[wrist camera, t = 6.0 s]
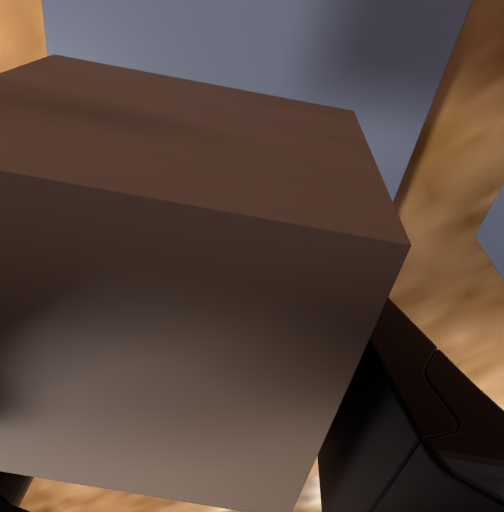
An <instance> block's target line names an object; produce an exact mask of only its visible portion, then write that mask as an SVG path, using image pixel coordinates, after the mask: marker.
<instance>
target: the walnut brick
mask: <svg viewBox="0 0 504 512" xmlns="http://www.w3.org/2000/svg"><path fill="white" fill-rule="evenodd" d="M410 247H411V244H410V241H409V239H408V237H407V234H406V232H405V230H404V227H403V225H402V223H401V220H400V218H399V216H398V213H397V211H396V209H395V206H394V204H393V202H392V199H391V197H390V195H389V192H388V190H387V188H386V185H385V183H384V180H383V178H382V176H381V173H380V171H379V169H378V166H377V164H376V162H375V159H374V157H373V155H372V152H371V150H370V148H369V145H368V143H367V141H366V138H365V136H364V134H363V131H362V129H361V127H360V124H359V122H358V120H357V117H356V115H355V113H354V111H352V110H347V109H342V108H336V107H331V106H326V105H320V104H315V103H310V102H304V101H299V100H294V99H288V98H283V97H278V96H273V95H267V94H262V93H257V92H251V91H246V90H241V89H235V88H230V87H225V86H220V85H214V84H209V83H204V82H198V81H193V80H188V79H182V78H177V77H172V76H166V75H161V74H156V73H151V72H145V71H140V70H135V69H129V68H124V67H119V66H113V65H108V64H103V63H98V62H92V61H87V60H82V59H76V58H71V57H66V56H60V55H55V54H53V55H51V56H48V57H45V58H42V59H39V60H36V61H34V62H31V63H28V64H25V65H22V66H19V67H17V68H14V69H11V70H8V71H5V72H2V73H0V471H2V472H8V473H14V474H20V475H26V476H32V477H38V478H44V479H50V480H56V481H62V482H68V483H74V484H80V485H86V486H92V487H98V488H104V489H111V490H117V491H123V492H129V493H135V494H141V495H147V496H153V497H159V498H165V499H171V500H177V501H183V502H189V503H195V504H201V505H207V506H213V507H219V508H225V509H231V510H237V511H243V512H292V511H293V509H294V507H295V504H296V502H297V500H298V498H299V495H300V493H301V491H302V489H303V486H304V484H305V482H306V480H307V477H308V475H309V473H310V471H311V469H312V466H313V464H314V462H315V460H316V457H317V455H318V453H319V451H320V448H321V446H322V444H323V442H324V439H325V437H326V435H327V433H328V430H329V428H330V426H331V424H332V421H333V419H334V417H335V415H336V412H337V410H338V408H339V406H340V404H341V401H342V399H343V397H344V395H345V392H346V390H347V388H348V386H349V383H350V381H351V379H352V377H353V374H354V372H355V370H356V368H357V365H358V363H359V361H360V359H361V356H362V354H363V352H364V350H365V347H366V345H367V343H368V341H369V339H370V336H371V334H372V332H373V330H374V327H375V325H376V323H377V321H378V318H379V316H380V314H381V312H382V309H383V307H384V305H385V303H386V300H387V298H388V296H389V294H390V291H391V289H392V287H393V285H394V282H395V280H396V278H397V276H398V274H399V271H400V269H401V267H402V265H403V262H404V260H405V258H406V256H407V253H408V251H409V249H410Z"/></svg>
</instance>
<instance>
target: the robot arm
mask: <svg viewBox="0 0 504 512" xmlns="http://www.w3.org/2000/svg"><path fill="white" fill-rule="evenodd" d="M318 467H319V480H320V492H321V505H322V512H504V410H502V409H501V408H500V407H499V406H498V405H497V404H496V403H495V402H494V401H492V400H491V399H490V398H489V397H488V396H487V395H486V394H485V393H484V392H482V391H481V390H480V389H479V388H478V387H477V386H476V385H475V384H474V383H473V382H472V381H471V380H470V379H469V378H468V377H467V376H465V375H464V374H463V373H462V372H461V371H460V370H459V369H458V368H457V367H456V366H455V365H454V364H453V363H452V362H451V361H450V360H449V359H448V358H447V357H446V356H445V355H444V354H443V353H442V352H441V351H440V350H437V347H436V346H435V345H434V344H433V343H432V341H431V340H430V339H429V338H428V337H427V336H426V335H425V334H424V333H423V332H422V331H421V330H420V329H419V328H418V327H417V326H416V325H415V324H414V323H413V322H412V321H411V320H410V319H409V318H408V317H407V316H406V315H405V314H404V313H403V312H402V311H401V310H400V309H399V308H398V307H397V306H396V305H395V304H394V303H393V302H392V301H391V300H390V299H389V298H387V300H386V303H385V305H384V307H383V309H382V312H381V314H380V316H379V318H378V321H377V323H376V325H375V327H374V330H373V332H372V334H371V336H370V339H369V341H368V343H367V345H366V347H365V350H364V352H363V354H362V356H361V359H360V361H359V363H358V365H357V368H356V370H355V372H354V374H353V377H352V379H351V381H350V383H349V386H348V388H347V390H346V392H345V395H344V397H343V399H342V401H341V404H340V406H339V408H338V410H337V412H336V415H335V417H334V419H333V421H332V424H331V426H330V428H329V430H328V433H327V435H326V437H325V439H324V442H323V444H322V446H321V448H320V451H319V453H318ZM33 478H34V477H32V476H26V475H20V474H14V473H8V472H2V471H0V512H30V511H27V510H25V509H22V508H19V505H20V504H21V502H22V500H23V498H24V496H25V494H26V492H27V490H28V488H29V486H30V484H31V482H32V480H33Z"/></svg>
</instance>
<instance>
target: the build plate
mask: <svg viewBox="0 0 504 512" xmlns="http://www.w3.org/2000/svg"><path fill="white" fill-rule="evenodd" d="M471 2H472V0H42V9H43V18H44V28H45V37H46V47H47V57H48V56H51V55H53V54H55V55H60V56H66V57H71V58H76V59H82V60H87V61H92V62H98V63H103V64H108V65H113V66H119V67H124V68H129V69H135V70H140V71H145V72H151V73H156V74H161V75H166V76H172V77H177V78H182V79H188V80H193V81H198V82H204V83H209V84H214V85H220V86H225V87H230V88H235V89H241V90H246V91H251V92H257V93H262V94H267V95H273V96H278V97H283V98H288V99H294V100H299V101H304V102H310V103H315V104H320V105H326V106H331V107H336V108H342V109H347V110H352V111H354V113H355V115H356V117H357V120H358V122H359V124H360V127H361V129H362V131H363V134H364V136H365V138H366V141H367V143H368V145H369V148H370V150H371V152H372V155H373V157H374V159H375V162H376V164H377V166H378V169H379V171H380V173H381V176H382V178H383V180H384V183H385V185H386V188H387V190H388V192H389V195H390V197H391V199H392V202H393V201H394V198H395V196H396V193H397V191H398V188H399V186H400V183H401V181H402V178H403V175H404V173H405V170H406V168H407V165H408V163H409V160H410V158H411V155H412V153H413V150H414V147H415V145H416V142H417V140H418V137H419V135H420V132H421V130H422V127H423V125H424V122H425V119H426V117H427V114H428V112H429V109H430V107H431V104H432V102H433V99H434V97H435V94H436V91H437V89H438V86H439V84H440V81H441V79H442V76H443V74H444V71H445V69H446V66H447V63H448V61H449V58H450V56H451V53H452V51H453V48H454V46H455V43H456V41H457V38H458V35H459V33H460V30H461V28H462V25H463V23H464V20H465V18H466V15H467V13H468V10H469V7H470V5H471Z"/></svg>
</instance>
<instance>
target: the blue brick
mask: <svg viewBox="0 0 504 512" xmlns="http://www.w3.org/2000/svg"><path fill="white" fill-rule="evenodd" d="M475 238H476V239H477V241H478V242H479V244H480V245H481V247H482V248H483V250H484V251H485V253H486V254H487V256H488V257H489V259H490V260H491V262H492V263H493V265H494V266H495V268H496V269H497V271H498V272H499V274H500V275H501V277H502V278H503V280H504V184H503V186H502V188H501V189H500V191H499V193H498V195H497V197H496V198H495V200H494V202H493V204H492V206H491V208H490V209H489V211H488V213H487V215H486V217H485V218H484V220H483V222H482V224H481V226H480V228H479V229H478V231H477V233H476V235H475Z"/></svg>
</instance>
